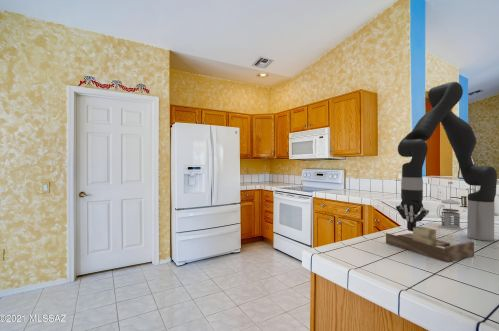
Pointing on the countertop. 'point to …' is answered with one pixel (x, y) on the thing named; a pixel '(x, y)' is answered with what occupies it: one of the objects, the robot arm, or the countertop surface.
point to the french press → (447, 220)
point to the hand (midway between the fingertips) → (411, 230)
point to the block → (424, 235)
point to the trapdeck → (432, 247)
